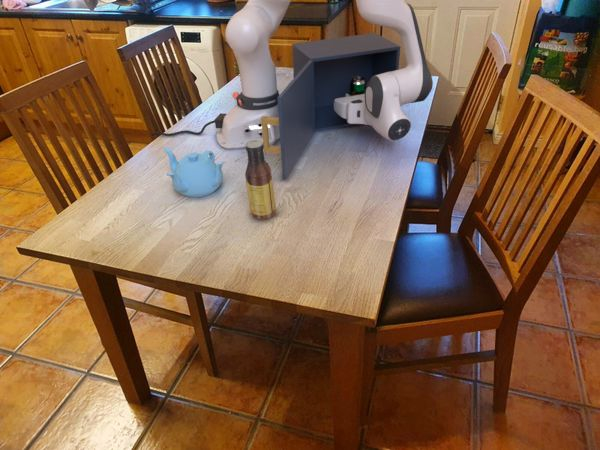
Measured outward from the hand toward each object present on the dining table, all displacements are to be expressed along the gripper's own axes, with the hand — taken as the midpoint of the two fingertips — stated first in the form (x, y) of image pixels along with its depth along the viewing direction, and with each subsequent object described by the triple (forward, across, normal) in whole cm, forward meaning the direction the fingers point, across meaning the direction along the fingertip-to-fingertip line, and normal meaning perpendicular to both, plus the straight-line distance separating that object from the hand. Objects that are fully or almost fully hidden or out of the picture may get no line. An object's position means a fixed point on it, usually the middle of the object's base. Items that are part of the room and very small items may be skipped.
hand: (356, 94), depth 149 cm
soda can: (-1, 0, +7) cm, 7 cm away
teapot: (-22, +57, +11) cm, 62 cm away
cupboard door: (-13, +27, +10) cm, 31 cm away
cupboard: (+8, +1, +10) cm, 13 cm away
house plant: (+37, +26, +11) cm, 46 cm away
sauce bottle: (-40, +43, +11) cm, 60 cm away
